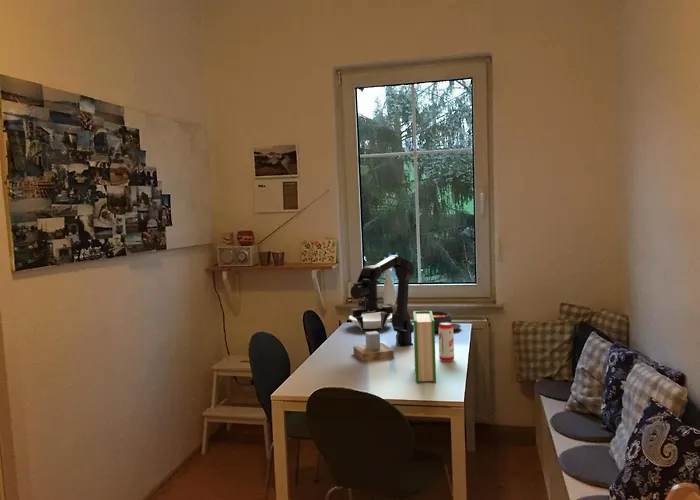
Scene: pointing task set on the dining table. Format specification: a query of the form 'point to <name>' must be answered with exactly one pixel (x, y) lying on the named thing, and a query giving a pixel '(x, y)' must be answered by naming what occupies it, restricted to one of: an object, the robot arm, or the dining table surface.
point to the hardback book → (424, 346)
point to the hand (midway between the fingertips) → (372, 330)
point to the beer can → (446, 342)
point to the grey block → (372, 340)
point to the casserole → (442, 319)
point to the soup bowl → (370, 320)
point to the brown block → (373, 353)
